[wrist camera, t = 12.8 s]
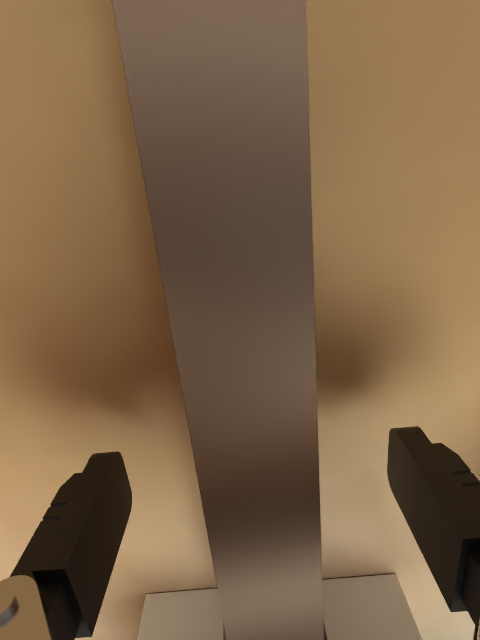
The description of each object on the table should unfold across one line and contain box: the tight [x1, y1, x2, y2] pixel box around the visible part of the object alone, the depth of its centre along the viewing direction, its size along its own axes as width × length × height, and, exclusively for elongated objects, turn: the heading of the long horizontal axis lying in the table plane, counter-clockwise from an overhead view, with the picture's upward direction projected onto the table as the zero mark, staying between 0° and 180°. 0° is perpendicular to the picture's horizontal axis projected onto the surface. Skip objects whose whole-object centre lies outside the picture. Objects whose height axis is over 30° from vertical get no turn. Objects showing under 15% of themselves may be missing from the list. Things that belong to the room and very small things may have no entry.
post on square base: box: [112, 0, 325, 640], centre depth 11 cm, size 25×7×7 cm, turn 6°
